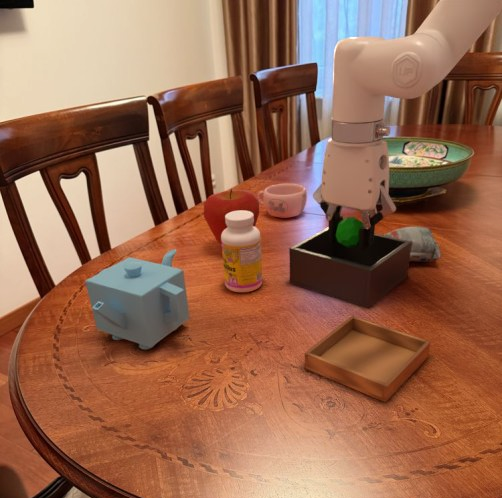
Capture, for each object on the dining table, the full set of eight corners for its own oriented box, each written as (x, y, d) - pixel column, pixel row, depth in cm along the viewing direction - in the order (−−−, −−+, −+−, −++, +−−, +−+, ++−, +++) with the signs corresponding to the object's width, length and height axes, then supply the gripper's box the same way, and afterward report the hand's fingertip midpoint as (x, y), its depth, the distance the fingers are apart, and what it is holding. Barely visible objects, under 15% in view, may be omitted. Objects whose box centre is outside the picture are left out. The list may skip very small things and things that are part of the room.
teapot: (69, 346, 77) (49, 277, 71) (149, 295, 90) (138, 233, 84) (149, 375, 70) (135, 302, 64) (224, 315, 83) (218, 249, 77)
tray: (428, 357, 70) (430, 341, 69) (385, 402, 63) (387, 386, 62) (351, 330, 77) (352, 315, 76) (304, 368, 70) (304, 352, 68)
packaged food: (390, 269, 94) (393, 243, 91) (382, 243, 104) (385, 220, 101) (440, 269, 93) (444, 243, 90) (427, 243, 103) (430, 220, 100)
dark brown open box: (407, 277, 91) (411, 241, 87) (368, 308, 82) (371, 270, 79) (332, 256, 100) (333, 224, 96) (289, 283, 91) (289, 248, 88)
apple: (247, 233, 112) (244, 177, 106) (270, 250, 104) (268, 190, 98) (200, 244, 109) (193, 186, 102) (219, 262, 100) (214, 201, 94)
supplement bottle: (219, 281, 93) (213, 212, 86) (254, 274, 95) (250, 205, 88) (232, 297, 88) (226, 224, 81) (268, 288, 90) (265, 217, 83)
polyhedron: (369, 243, 88) (371, 216, 86) (358, 253, 85) (360, 225, 82) (341, 238, 91) (343, 212, 88) (330, 248, 87) (331, 221, 85)
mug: (312, 209, 123) (312, 184, 120) (297, 223, 116) (297, 197, 113) (266, 205, 128) (265, 180, 125) (249, 218, 120) (247, 193, 117)
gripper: (421, 132, 75) (407, 248, 85) (322, 122, 85) (320, 228, 95) (397, 142, 71) (385, 264, 80) (295, 131, 80) (296, 241, 90)
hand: (350, 243), depth 87 cm, fingers closed on polyhedron, 5 cm apart
